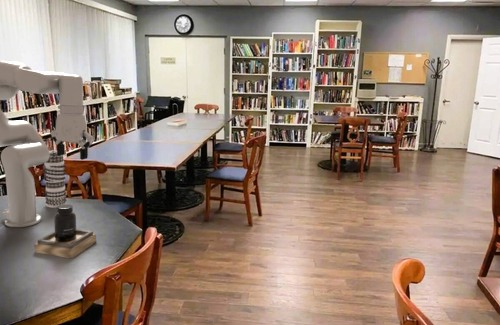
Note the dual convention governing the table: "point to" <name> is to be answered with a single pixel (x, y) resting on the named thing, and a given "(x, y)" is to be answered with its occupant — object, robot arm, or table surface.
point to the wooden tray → (65, 244)
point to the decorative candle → (55, 180)
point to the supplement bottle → (65, 223)
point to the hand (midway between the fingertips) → (72, 157)
